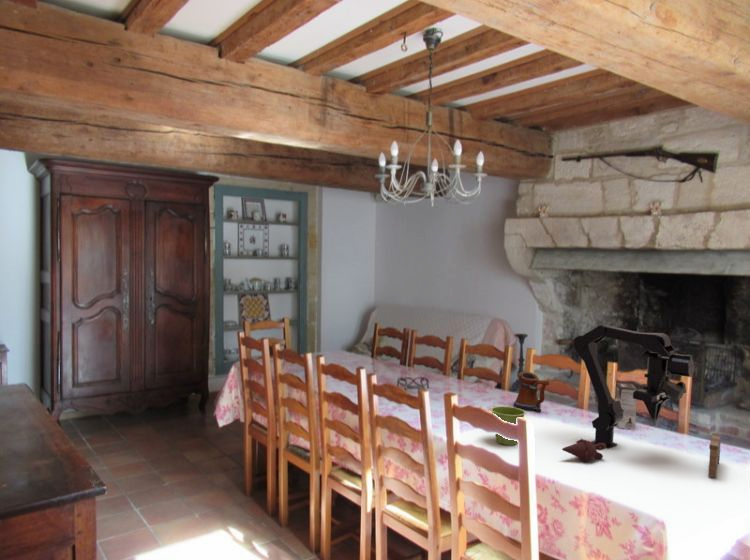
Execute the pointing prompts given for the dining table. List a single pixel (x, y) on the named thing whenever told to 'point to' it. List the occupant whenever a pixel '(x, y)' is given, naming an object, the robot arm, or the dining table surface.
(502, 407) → the plant pot
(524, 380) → the mug
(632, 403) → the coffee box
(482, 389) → the dining table surface
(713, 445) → the brown flat wooden slab
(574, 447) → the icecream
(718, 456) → the gate post
